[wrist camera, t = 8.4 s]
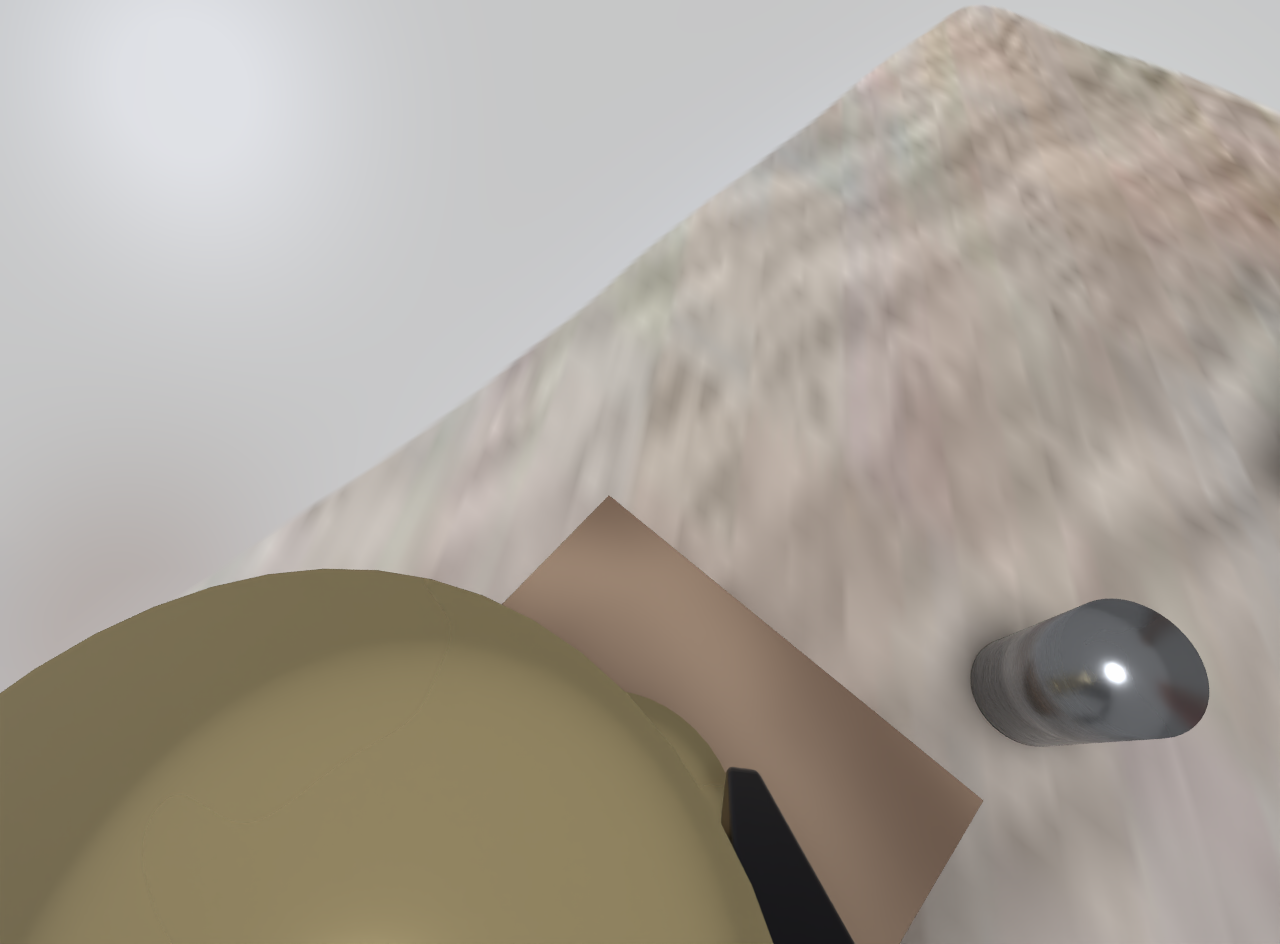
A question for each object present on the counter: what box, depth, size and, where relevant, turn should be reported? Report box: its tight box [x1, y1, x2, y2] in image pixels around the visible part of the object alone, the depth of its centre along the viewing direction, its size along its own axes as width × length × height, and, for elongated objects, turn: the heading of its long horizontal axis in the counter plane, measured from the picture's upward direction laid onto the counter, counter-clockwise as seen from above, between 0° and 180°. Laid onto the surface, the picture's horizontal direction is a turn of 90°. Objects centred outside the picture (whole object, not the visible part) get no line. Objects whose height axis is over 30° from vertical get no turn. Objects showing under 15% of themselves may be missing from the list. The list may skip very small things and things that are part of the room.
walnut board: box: [502, 496, 983, 944], centre depth 17 cm, size 14×14×2 cm
